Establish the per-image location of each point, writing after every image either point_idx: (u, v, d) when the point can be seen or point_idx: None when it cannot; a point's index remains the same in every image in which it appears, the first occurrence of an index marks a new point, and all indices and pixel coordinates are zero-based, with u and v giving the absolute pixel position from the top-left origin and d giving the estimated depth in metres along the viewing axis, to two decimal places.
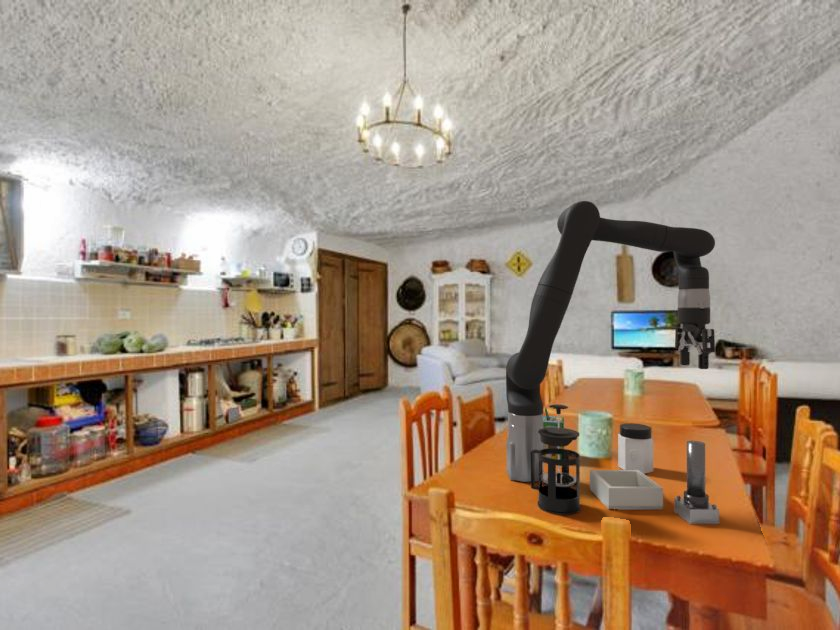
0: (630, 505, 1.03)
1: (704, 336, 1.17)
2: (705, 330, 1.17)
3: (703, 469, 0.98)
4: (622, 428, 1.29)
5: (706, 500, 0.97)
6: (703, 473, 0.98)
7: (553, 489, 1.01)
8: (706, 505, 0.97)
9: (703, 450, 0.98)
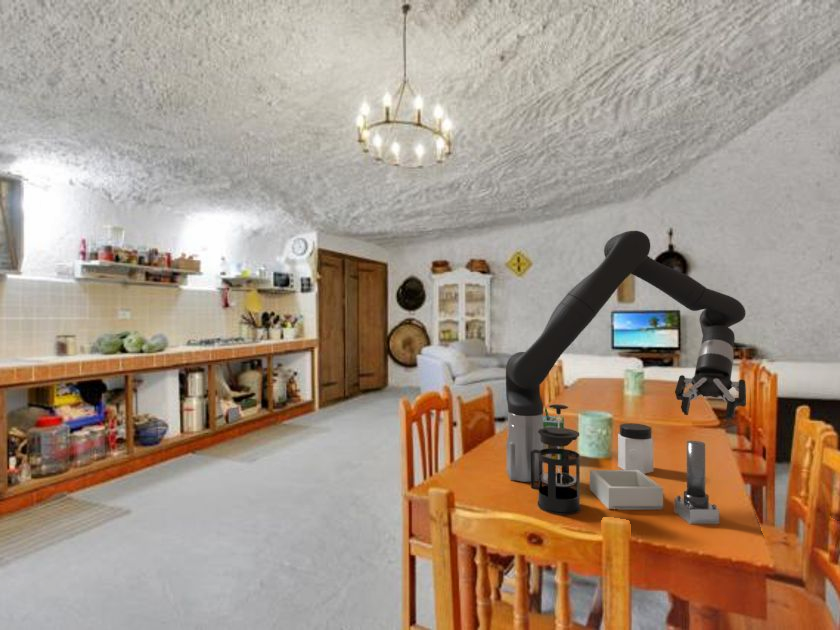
0: (630, 505, 1.03)
1: (744, 386, 1.07)
2: (744, 381, 1.08)
3: (703, 469, 0.98)
4: (622, 428, 1.29)
5: (706, 500, 0.97)
6: (703, 473, 0.98)
7: (553, 489, 1.01)
8: (706, 505, 0.97)
9: (703, 450, 0.98)
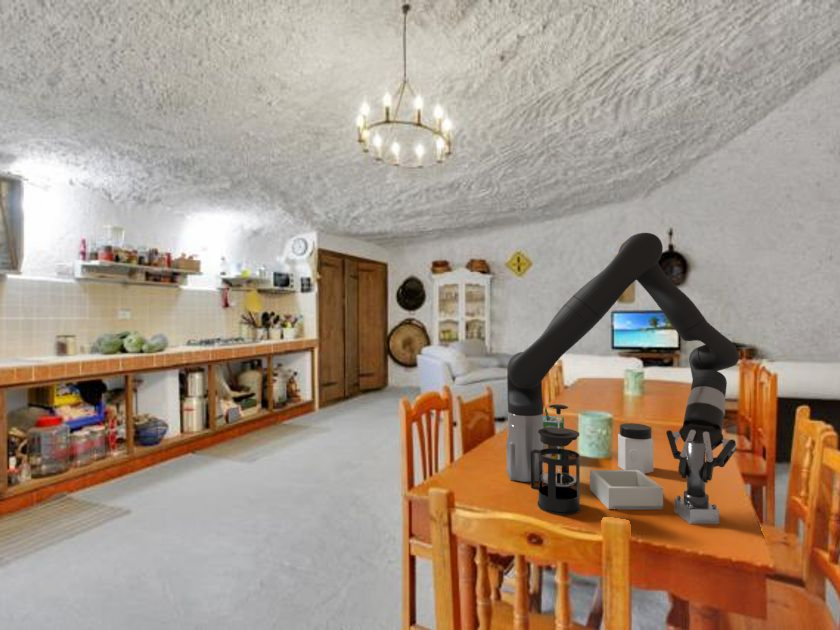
0: (630, 505, 1.03)
1: (730, 447, 0.97)
2: (735, 443, 0.98)
3: (703, 469, 0.98)
4: (622, 428, 1.29)
5: (706, 500, 0.97)
6: None
7: (553, 489, 1.01)
8: (706, 505, 0.97)
9: (703, 450, 0.98)
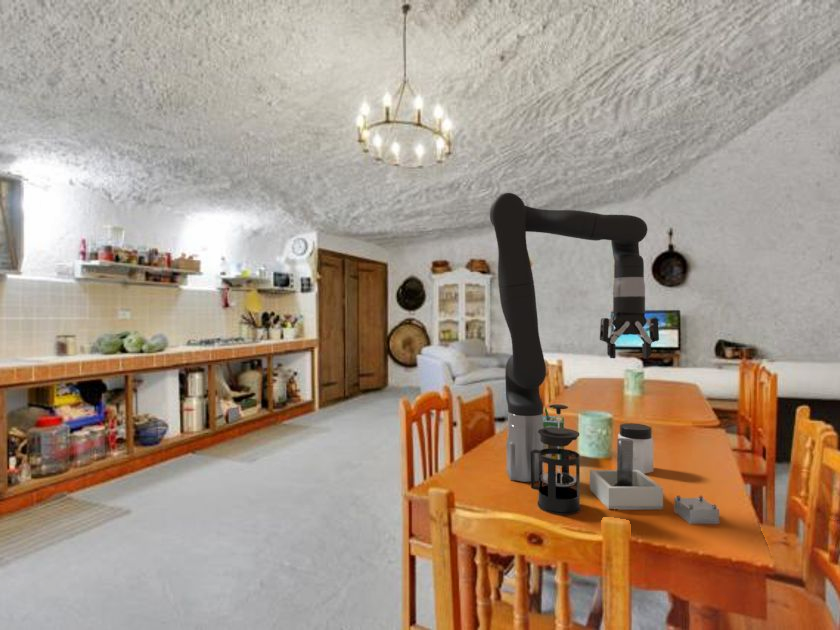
0: (630, 505, 1.03)
1: (657, 325, 1.19)
2: None
3: (630, 464, 1.08)
4: (622, 428, 1.29)
5: None
6: (630, 468, 1.08)
7: (553, 489, 1.01)
8: None
9: (630, 447, 1.08)
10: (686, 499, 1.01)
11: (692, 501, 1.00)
